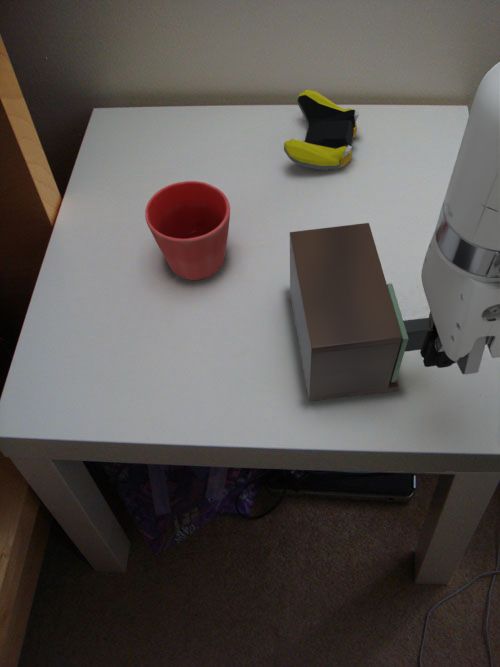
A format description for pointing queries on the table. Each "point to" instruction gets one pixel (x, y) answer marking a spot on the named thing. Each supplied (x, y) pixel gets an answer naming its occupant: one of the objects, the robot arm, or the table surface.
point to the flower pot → (190, 227)
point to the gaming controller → (323, 133)
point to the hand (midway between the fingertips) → (437, 358)
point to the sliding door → (407, 333)
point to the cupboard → (342, 312)
